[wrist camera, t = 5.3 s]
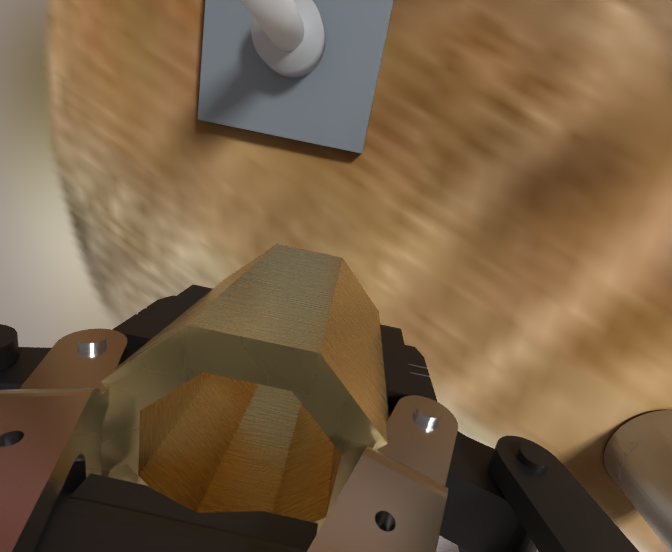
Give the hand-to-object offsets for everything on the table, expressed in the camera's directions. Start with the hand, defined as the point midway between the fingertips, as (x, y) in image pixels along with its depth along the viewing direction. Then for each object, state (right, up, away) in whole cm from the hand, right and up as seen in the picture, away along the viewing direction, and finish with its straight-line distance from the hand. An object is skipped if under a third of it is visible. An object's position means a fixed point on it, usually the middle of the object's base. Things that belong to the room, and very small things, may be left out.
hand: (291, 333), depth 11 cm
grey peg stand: (-1, +18, +13) cm, 22 cm away
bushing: (0, 0, +1) cm, 1 cm away
